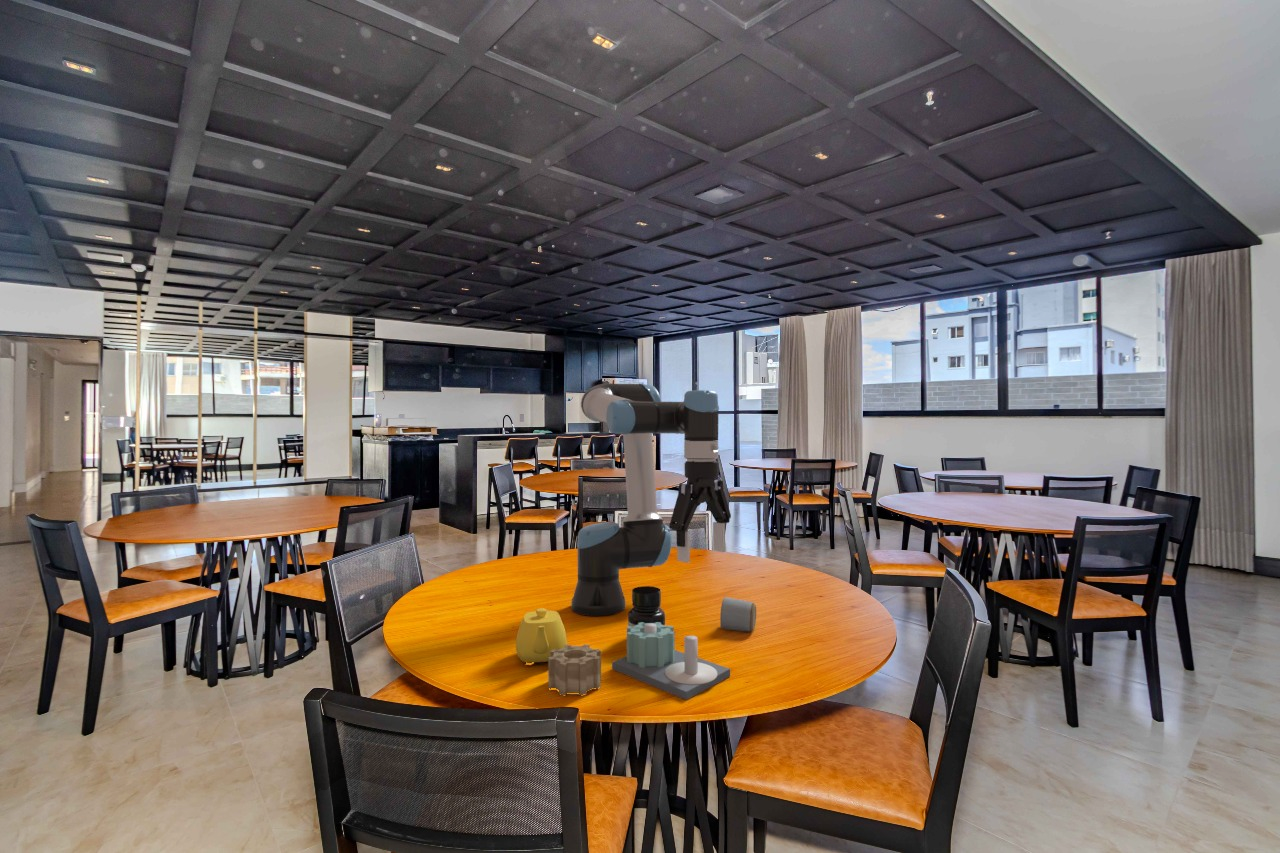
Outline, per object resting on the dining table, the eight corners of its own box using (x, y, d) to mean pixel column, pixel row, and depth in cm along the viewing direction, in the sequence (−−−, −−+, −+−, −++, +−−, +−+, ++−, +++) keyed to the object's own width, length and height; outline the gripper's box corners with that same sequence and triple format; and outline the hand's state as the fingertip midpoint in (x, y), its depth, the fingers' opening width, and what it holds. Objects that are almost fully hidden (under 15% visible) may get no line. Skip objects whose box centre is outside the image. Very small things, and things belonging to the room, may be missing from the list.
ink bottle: (629, 633, 142) (628, 584, 142) (664, 633, 141) (664, 584, 142) (627, 648, 132) (626, 595, 132) (665, 648, 132) (665, 596, 132)
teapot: (568, 675, 118) (567, 622, 118) (513, 679, 116) (512, 625, 116) (565, 643, 135) (565, 597, 135) (518, 646, 134) (518, 599, 134)
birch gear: (538, 685, 113) (538, 654, 113) (578, 669, 120) (578, 640, 120) (571, 701, 106) (571, 669, 106) (611, 684, 113) (611, 653, 113)
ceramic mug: (753, 636, 139) (753, 604, 139) (719, 632, 142) (719, 601, 142) (758, 623, 149) (758, 593, 149) (727, 620, 152) (727, 590, 152)
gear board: (610, 668, 121) (610, 627, 121) (655, 649, 131) (655, 612, 131) (689, 701, 106) (689, 654, 106) (733, 677, 116) (732, 635, 116)
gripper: (681, 463, 116) (681, 569, 115) (745, 458, 134) (745, 549, 134) (652, 462, 121) (652, 563, 120) (718, 457, 139) (718, 545, 139)
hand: (701, 556), depth 127 cm, fingers open, 13 cm apart
